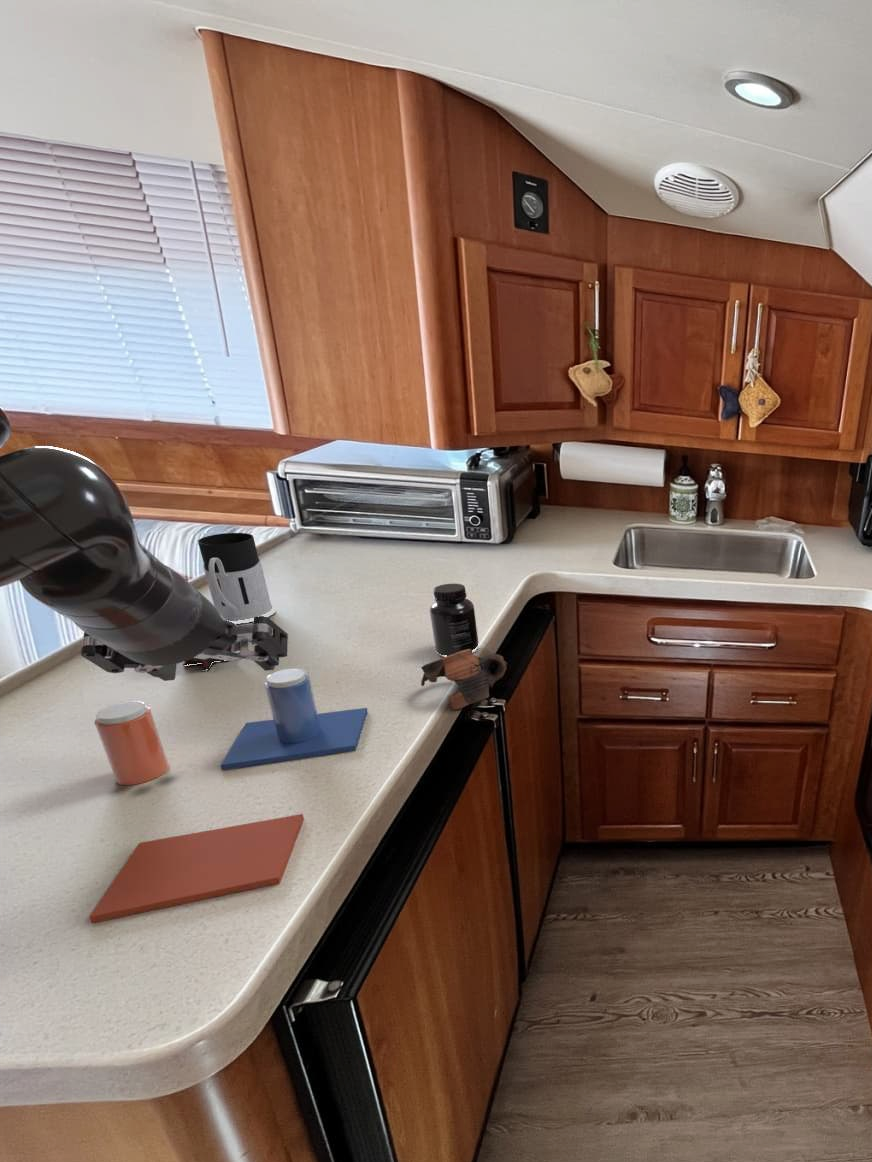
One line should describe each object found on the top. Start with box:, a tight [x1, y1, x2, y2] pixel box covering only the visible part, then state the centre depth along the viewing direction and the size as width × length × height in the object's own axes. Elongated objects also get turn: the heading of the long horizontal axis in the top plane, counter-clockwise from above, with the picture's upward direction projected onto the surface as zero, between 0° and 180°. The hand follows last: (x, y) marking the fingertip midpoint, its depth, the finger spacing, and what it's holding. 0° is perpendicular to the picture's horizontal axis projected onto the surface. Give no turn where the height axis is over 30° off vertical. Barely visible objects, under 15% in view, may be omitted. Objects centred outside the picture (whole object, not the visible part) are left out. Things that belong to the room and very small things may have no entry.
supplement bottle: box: [429, 583, 479, 656], centre depth 110 cm, size 7×7×12 cm
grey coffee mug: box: [197, 532, 273, 621], centre depth 113 cm, size 9×14×15 cm, turn 25°
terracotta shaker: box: [93, 700, 170, 786], centre depth 75 cm, size 5×5×9 cm
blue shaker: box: [264, 667, 321, 744], centre depth 84 cm, size 5×5×9 cm
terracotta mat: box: [89, 813, 305, 924], centre depth 65 cm, size 14×10×1 cm
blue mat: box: [220, 707, 369, 771], centre depth 86 cm, size 14×10×1 cm
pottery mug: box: [420, 649, 508, 711], centre depth 99 cm, size 12×10×8 cm
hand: (222, 666), depth 70 cm, fingers open, 8 cm apart
